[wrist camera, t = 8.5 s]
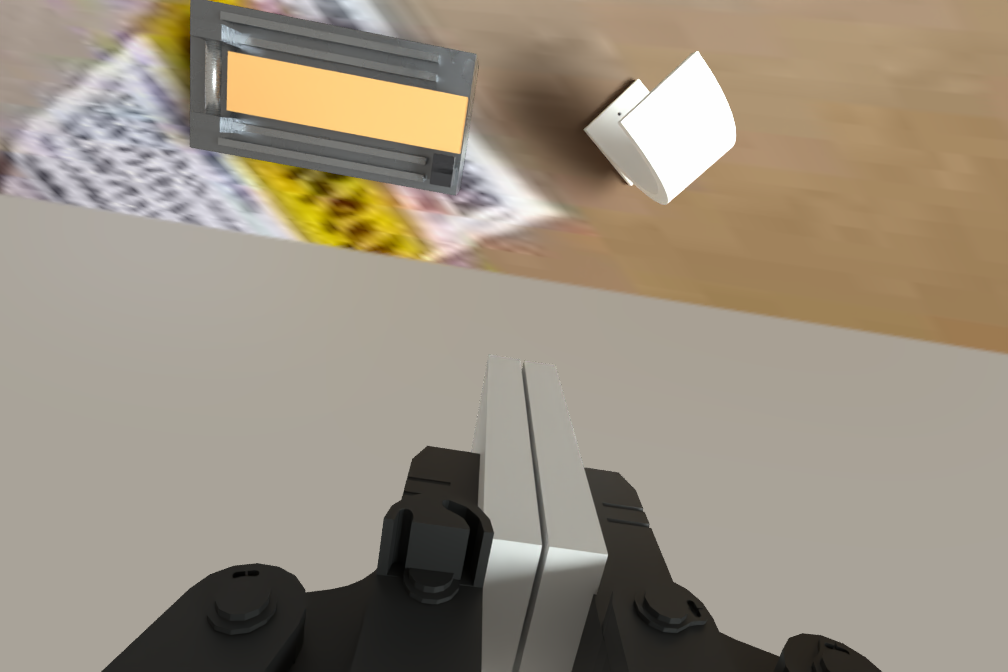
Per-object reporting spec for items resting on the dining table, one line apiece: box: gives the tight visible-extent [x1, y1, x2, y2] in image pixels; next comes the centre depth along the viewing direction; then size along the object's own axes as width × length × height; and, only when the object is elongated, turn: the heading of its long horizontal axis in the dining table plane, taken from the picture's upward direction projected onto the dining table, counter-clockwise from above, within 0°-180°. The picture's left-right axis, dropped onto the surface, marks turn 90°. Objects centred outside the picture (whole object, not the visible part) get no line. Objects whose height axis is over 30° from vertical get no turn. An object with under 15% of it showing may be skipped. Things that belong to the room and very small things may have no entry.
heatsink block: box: [190, 0, 479, 195], centre depth 34 cm, size 16×8×8 cm, turn 80°
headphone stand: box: [583, 51, 736, 205], centre depth 33 cm, size 5×6×12 cm
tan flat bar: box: [227, 51, 468, 154], centre depth 31 cm, size 13×3×1 cm, turn 80°
